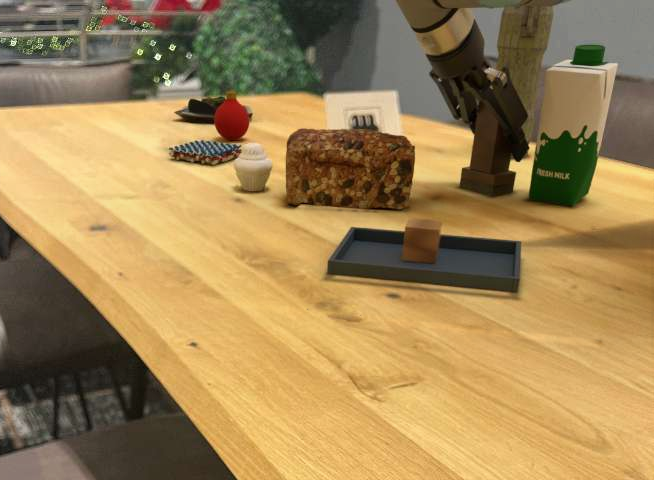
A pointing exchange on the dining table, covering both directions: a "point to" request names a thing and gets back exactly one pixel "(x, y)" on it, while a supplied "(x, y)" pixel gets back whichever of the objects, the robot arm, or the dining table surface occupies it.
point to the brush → (488, 158)
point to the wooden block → (422, 240)
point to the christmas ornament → (231, 118)
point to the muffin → (253, 167)
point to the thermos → (524, 52)
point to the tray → (449, 270)
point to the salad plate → (204, 110)
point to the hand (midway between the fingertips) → (506, 151)
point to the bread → (349, 168)
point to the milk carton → (571, 126)
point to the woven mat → (206, 152)
